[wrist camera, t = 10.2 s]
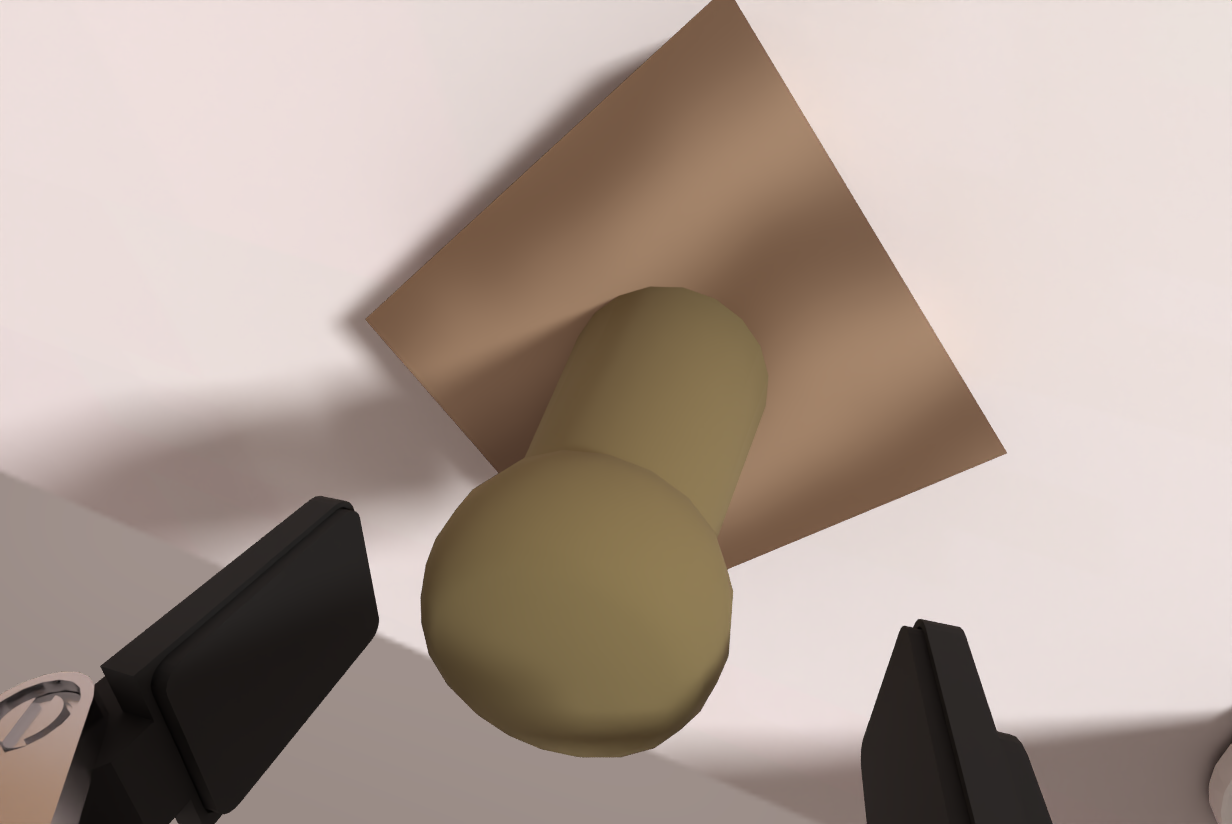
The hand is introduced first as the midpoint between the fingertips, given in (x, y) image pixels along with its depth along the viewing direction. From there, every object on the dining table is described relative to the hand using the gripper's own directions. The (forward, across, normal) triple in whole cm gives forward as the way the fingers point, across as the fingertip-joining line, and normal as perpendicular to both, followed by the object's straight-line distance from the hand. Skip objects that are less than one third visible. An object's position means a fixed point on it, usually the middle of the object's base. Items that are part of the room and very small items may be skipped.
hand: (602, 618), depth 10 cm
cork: (+10, +1, 0) cm, 10 cm away
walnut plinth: (+13, +1, 0) cm, 13 cm away
